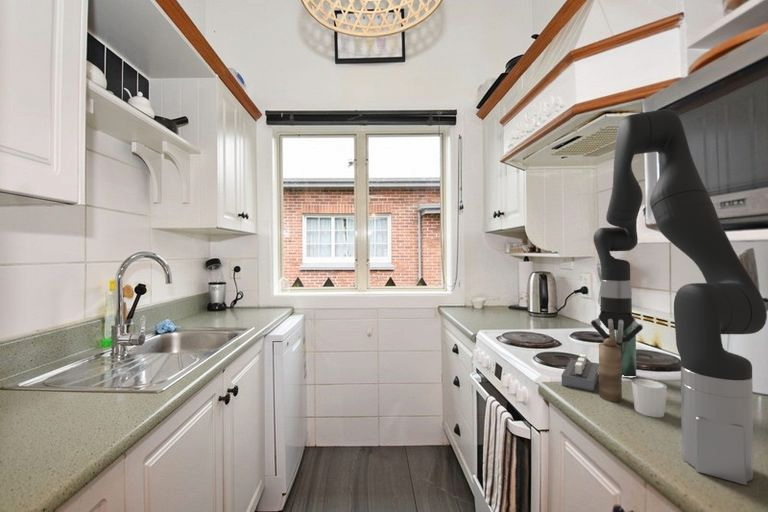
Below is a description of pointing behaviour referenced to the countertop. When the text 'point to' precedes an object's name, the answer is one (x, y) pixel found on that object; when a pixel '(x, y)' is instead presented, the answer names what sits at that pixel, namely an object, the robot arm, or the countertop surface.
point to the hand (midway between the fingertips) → (616, 354)
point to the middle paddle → (581, 361)
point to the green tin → (628, 354)
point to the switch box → (581, 376)
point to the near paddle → (578, 368)
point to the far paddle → (584, 357)
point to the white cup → (649, 397)
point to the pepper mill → (610, 371)
